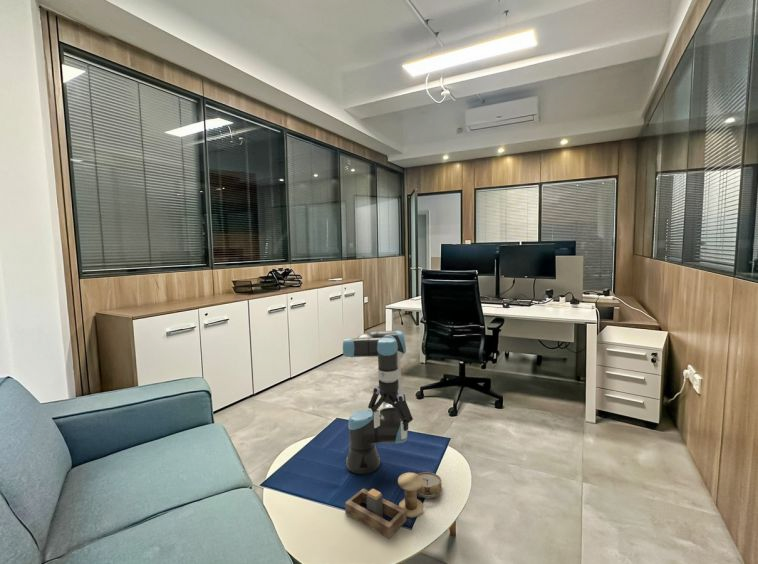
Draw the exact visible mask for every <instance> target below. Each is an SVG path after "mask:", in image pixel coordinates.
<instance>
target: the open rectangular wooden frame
mask: <svg viewBox="0 0 758 564" xmlns="http://www.w3.org/2000/svg"><path fill="white" fill-rule="evenodd" d="M369 491H370V490H368V489H366V488H362V489H361V490H359V491H357V492H356V493H355V494H354V495H353V496H352V497H350V498H349V499H348V500H347V501H346V502H344V506H345V507H344V508H345V509H344V510H345V514H346V515H348V516H349V517H352V518H353V519H355V520H357V521H358V522H359V523H362V524H363V525H365V526H367V527H369V528H370V529H372V530H374V531H375V532H378V533H379V534H381V535H382V536H384V537H386V538H387V539H391V538H392V537H393V536H394V534H396V533H397V532H398V530H399V529H400V528H401V527H403V525H404V523H405V524H406V522H407V517H406V510H405V509H403V508H401V507H399V505H397V504H396V503H393V502H392V501H389V500H387V499H385V498H383V497H382V500H383V515H386V516H388V517H389V518H391V520H386V519H385V518H383V517H382V518H381V517H380V516H378V515H376V514H374V513H372V512H370V511H369V510H367V508H365V507H363V506H361V504H362V503H363V504H364V505H367V496H368V492H369Z"/></svg>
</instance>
